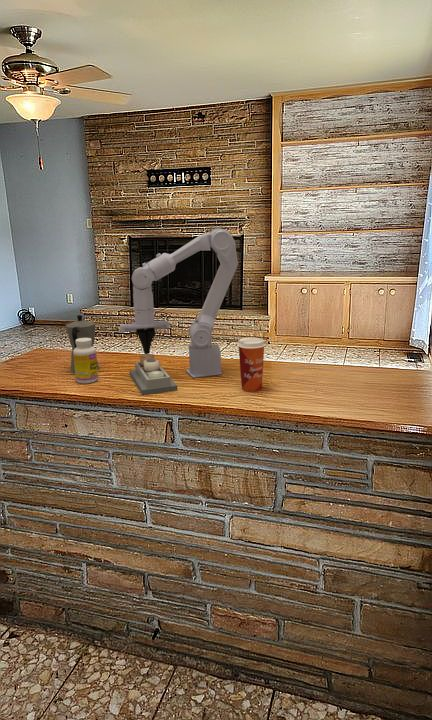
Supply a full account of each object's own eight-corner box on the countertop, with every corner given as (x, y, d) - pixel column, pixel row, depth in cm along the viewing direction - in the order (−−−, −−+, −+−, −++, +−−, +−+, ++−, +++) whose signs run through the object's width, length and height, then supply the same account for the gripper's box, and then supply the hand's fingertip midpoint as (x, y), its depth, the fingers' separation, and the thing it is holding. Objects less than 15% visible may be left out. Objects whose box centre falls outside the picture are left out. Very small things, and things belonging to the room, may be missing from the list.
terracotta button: (153, 362, 159) (152, 352, 158) (156, 366, 155) (155, 356, 154) (139, 364, 158) (138, 354, 157) (141, 368, 154) (141, 357, 153)
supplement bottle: (93, 384, 152) (88, 342, 148) (72, 383, 153) (67, 342, 149) (102, 377, 158) (98, 337, 154) (82, 376, 159) (78, 336, 156)
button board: (161, 370, 163) (160, 358, 162) (177, 390, 145) (176, 377, 144) (129, 374, 160) (129, 362, 159) (142, 395, 142) (141, 381, 140)
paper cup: (247, 394, 140) (246, 345, 136) (233, 386, 146) (232, 339, 142) (271, 389, 143) (271, 341, 139) (256, 382, 150) (256, 335, 146)
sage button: (162, 380, 149) (161, 369, 148) (165, 384, 145) (165, 373, 144) (147, 381, 148) (146, 371, 147) (150, 386, 144) (149, 375, 143)
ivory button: (157, 367, 154) (156, 357, 153) (160, 371, 150) (160, 361, 149) (142, 369, 153) (142, 359, 152) (145, 373, 149) (145, 363, 148)
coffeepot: (75, 364, 173) (69, 311, 168) (103, 363, 173) (98, 310, 168) (63, 378, 158) (56, 321, 153) (93, 377, 158) (88, 320, 153)
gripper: (164, 304, 158) (166, 347, 161) (117, 308, 153) (120, 352, 157) (170, 308, 151) (172, 352, 155) (120, 312, 147) (124, 358, 151)
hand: (146, 353), depth 156 cm, fingers closed
